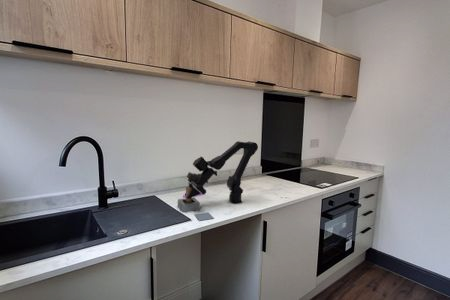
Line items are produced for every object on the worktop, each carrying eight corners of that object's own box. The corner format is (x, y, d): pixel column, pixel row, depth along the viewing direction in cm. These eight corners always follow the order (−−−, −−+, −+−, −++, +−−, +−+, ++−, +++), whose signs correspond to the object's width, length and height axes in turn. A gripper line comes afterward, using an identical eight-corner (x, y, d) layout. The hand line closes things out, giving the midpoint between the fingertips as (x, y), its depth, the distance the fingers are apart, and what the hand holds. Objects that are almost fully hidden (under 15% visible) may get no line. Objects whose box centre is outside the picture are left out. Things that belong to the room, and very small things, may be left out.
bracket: (198, 192, 166) (198, 183, 165) (202, 195, 162) (203, 185, 161) (181, 196, 158) (181, 186, 157) (185, 198, 154) (185, 188, 153)
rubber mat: (208, 213, 132) (208, 212, 132) (213, 218, 125) (214, 218, 125) (194, 215, 129) (194, 214, 128) (199, 221, 121) (199, 220, 121)
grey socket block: (194, 203, 145) (194, 197, 144) (199, 209, 136) (199, 202, 135) (177, 205, 141) (177, 199, 140) (182, 212, 132) (182, 205, 131)
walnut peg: (191, 205, 141) (191, 186, 140) (193, 208, 137) (193, 188, 136) (183, 207, 140) (183, 186, 138) (185, 209, 135) (185, 189, 134)
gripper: (190, 164, 145) (172, 183, 142) (200, 170, 128) (180, 193, 125) (203, 176, 150) (185, 195, 147) (214, 184, 133) (194, 205, 130)
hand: (186, 197), depth 137 cm, fingers open, 5 cm apart
